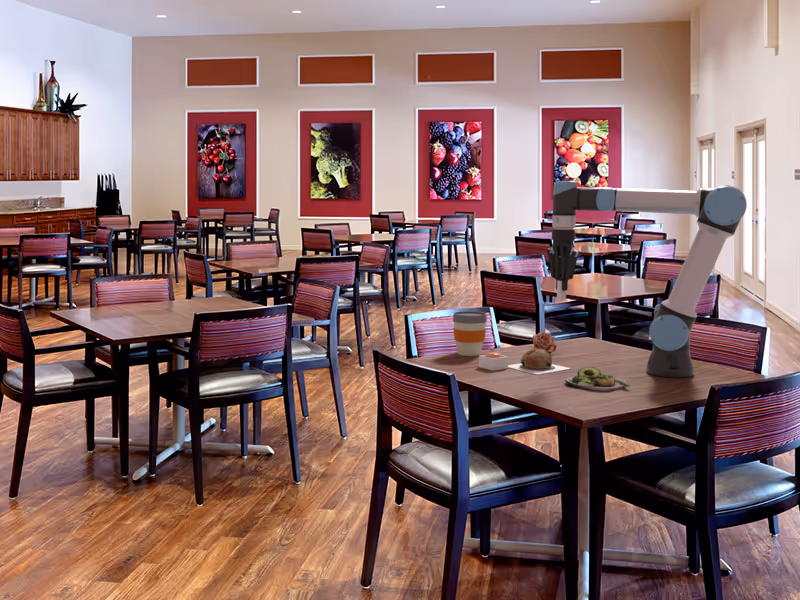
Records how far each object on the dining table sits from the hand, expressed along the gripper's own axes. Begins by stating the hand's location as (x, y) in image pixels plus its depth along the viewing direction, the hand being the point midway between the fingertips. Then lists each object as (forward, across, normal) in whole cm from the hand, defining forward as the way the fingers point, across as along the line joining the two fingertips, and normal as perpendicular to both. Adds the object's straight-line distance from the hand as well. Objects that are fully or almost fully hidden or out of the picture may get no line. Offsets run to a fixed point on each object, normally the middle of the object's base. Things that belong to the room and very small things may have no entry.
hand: (561, 299), depth 285 cm
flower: (+25, -25, +19) cm, 40 cm away
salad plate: (+25, +19, -4) cm, 32 cm away
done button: (+23, -18, -13) cm, 32 cm away
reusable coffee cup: (+25, -42, -3) cm, 49 cm away
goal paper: (+24, -9, -1) cm, 26 cm away
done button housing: (+24, -18, -13) cm, 33 cm away
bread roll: (+24, -9, -1) cm, 26 cm away
